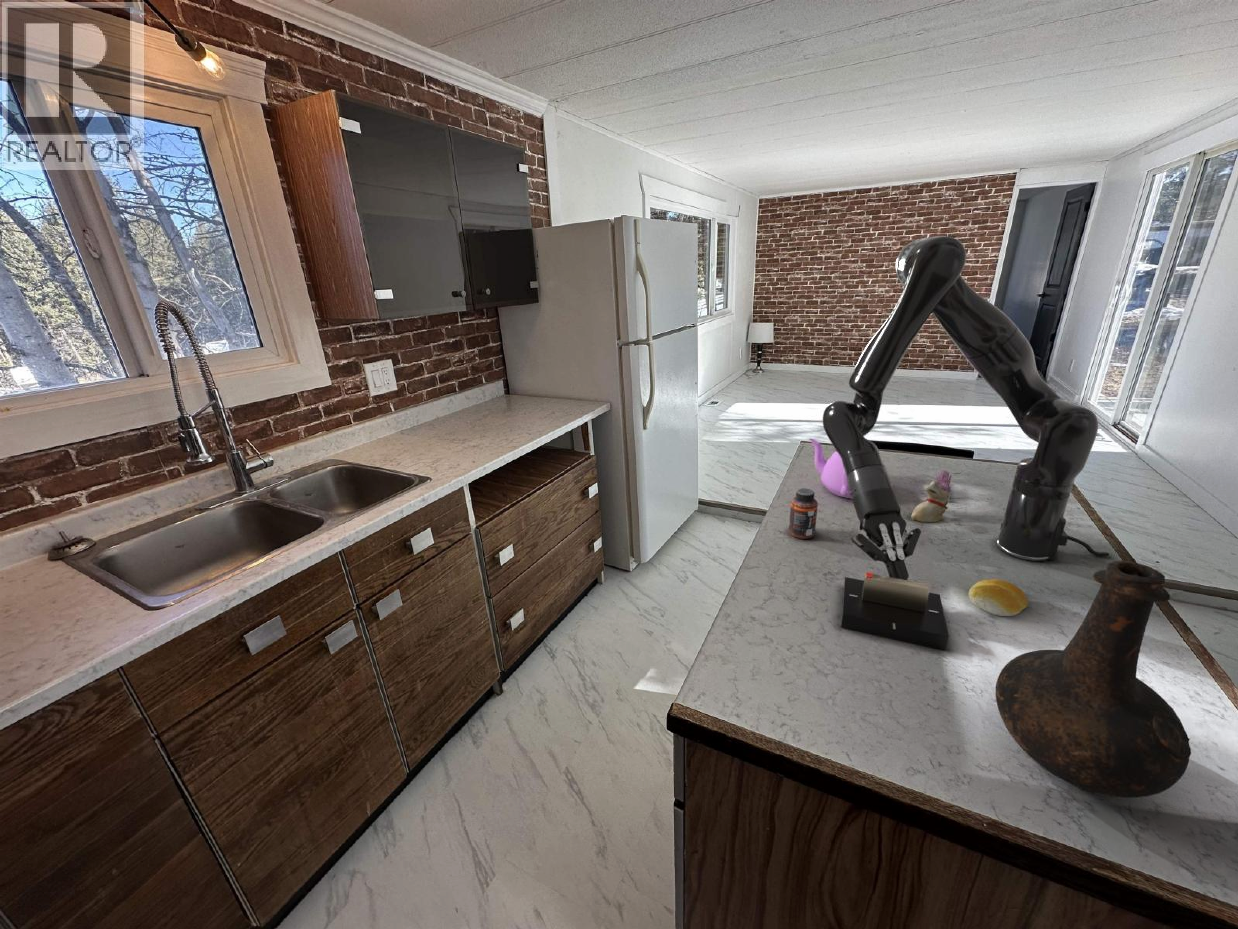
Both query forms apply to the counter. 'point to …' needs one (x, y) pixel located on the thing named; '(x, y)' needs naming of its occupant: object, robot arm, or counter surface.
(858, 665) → the counter surface
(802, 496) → the supplement bottle
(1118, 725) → the brown mottled bulbous container
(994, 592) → the bread roll
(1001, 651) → the counter surface
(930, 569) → the counter surface
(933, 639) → the black square dial panel
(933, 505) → the chocolate bunny
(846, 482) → the teapot
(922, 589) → the red-tipped beige bar
